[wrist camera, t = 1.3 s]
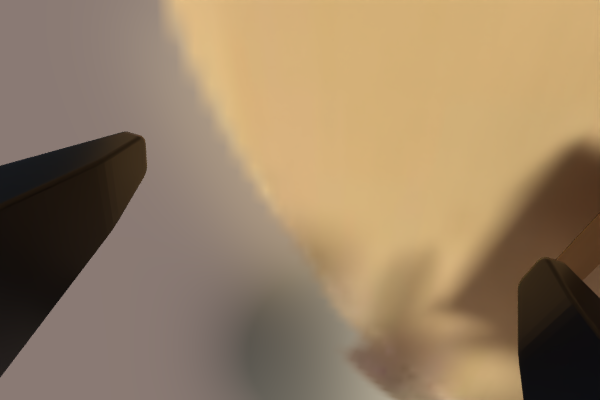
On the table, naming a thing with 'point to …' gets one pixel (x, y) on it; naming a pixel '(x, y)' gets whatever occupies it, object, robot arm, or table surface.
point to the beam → (585, 256)
